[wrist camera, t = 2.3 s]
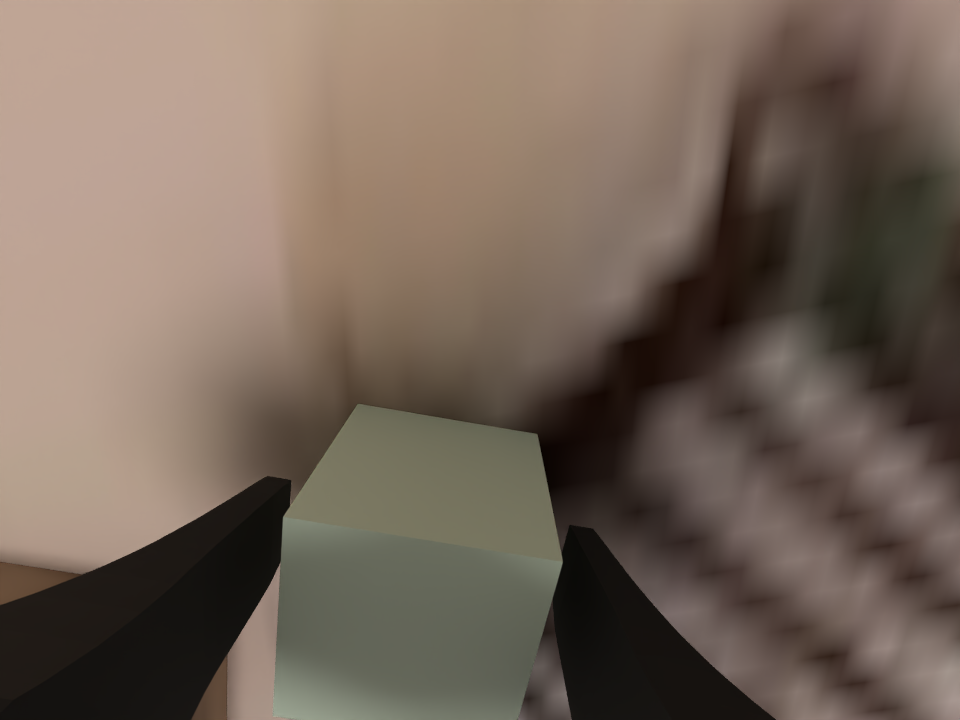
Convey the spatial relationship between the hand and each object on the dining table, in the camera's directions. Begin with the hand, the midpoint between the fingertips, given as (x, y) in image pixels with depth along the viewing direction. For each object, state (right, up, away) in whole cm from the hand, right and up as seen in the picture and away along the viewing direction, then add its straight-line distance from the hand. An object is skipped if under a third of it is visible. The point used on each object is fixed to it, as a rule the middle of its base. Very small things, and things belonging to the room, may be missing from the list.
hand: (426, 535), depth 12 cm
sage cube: (0, +1, +2) cm, 2 cm away
